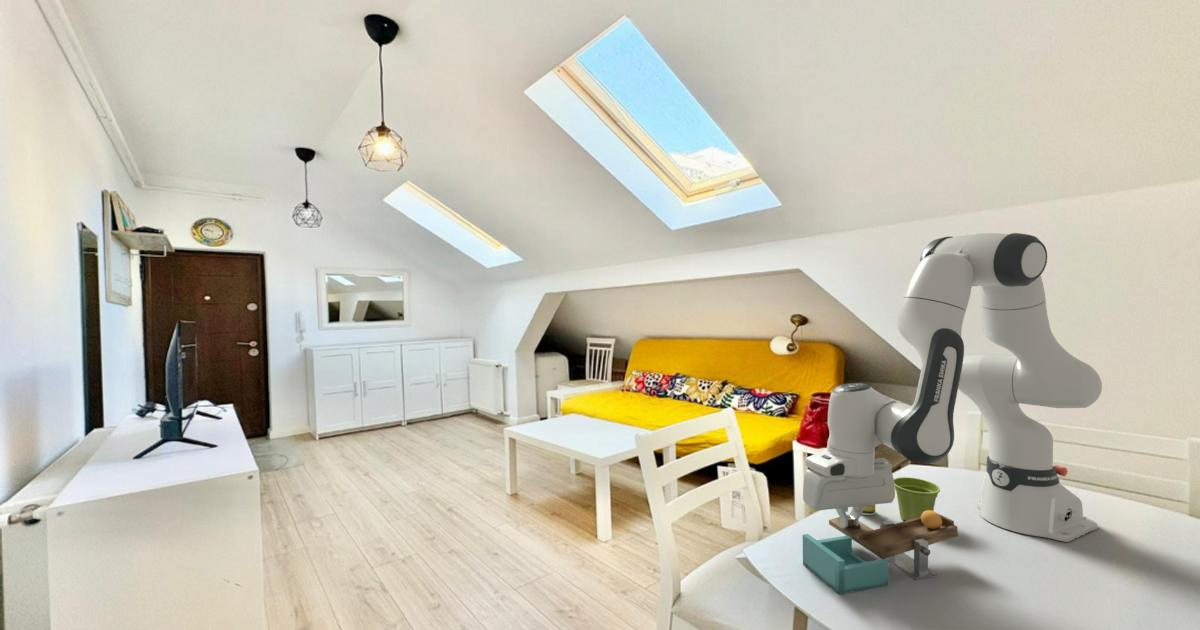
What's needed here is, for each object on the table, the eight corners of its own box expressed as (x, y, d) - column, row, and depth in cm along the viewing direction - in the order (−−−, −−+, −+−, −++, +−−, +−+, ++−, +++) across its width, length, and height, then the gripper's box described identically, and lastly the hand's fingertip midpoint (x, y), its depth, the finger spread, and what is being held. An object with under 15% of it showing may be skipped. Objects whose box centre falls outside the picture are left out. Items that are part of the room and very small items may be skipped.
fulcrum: (892, 548, 98) (892, 518, 98) (938, 576, 88) (938, 542, 88) (872, 551, 97) (872, 521, 97) (916, 580, 87) (916, 546, 87)
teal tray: (848, 556, 96) (848, 527, 96) (888, 585, 86) (888, 553, 86) (802, 564, 93) (802, 534, 93) (839, 594, 84) (838, 561, 83)
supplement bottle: (878, 516, 113) (878, 482, 112) (857, 515, 114) (857, 481, 113) (871, 508, 117) (871, 475, 117) (850, 506, 118) (850, 474, 118)
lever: (896, 505, 106) (895, 493, 106) (957, 536, 92) (956, 522, 92) (829, 524, 102) (827, 512, 102) (882, 559, 88) (881, 545, 88)
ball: (933, 515, 96) (924, 503, 96) (949, 523, 93) (940, 511, 92) (922, 527, 96) (913, 515, 95) (938, 536, 92) (929, 523, 92)
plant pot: (942, 534, 104) (942, 495, 104) (892, 524, 109) (892, 487, 109) (938, 517, 112) (938, 481, 112) (892, 508, 117) (892, 474, 117)
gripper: (879, 452, 104) (877, 514, 104) (798, 459, 99) (797, 523, 99) (903, 462, 97) (902, 527, 98) (819, 469, 93) (817, 537, 93)
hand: (848, 525), depth 98 cm, fingers closed
